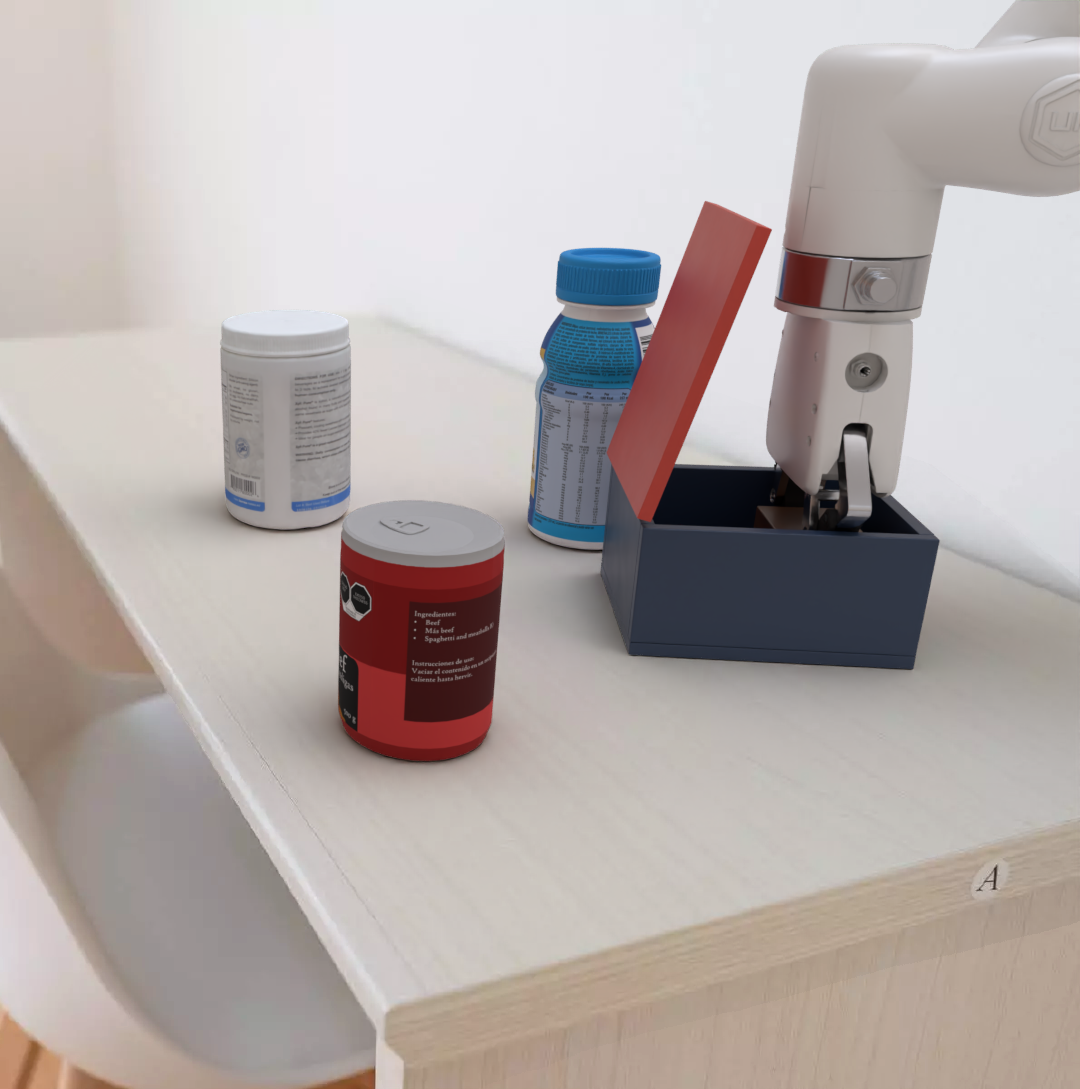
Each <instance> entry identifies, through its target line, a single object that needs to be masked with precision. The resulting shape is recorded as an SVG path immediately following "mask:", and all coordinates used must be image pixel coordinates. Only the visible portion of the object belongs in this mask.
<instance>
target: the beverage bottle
mask: <svg viewBox="0 0 1080 1089" xmlns="http://www.w3.org/2000/svg"><path fill="white" fill-rule="evenodd" d="M661 262H662V260H661V256H660V255H659V254H657V253H656V252H652V251H647V250H641V249H633V248H624V247H623V248H622V247H582V248H579V247H578V248H572V249H567V250H563V251H562V252H560V254H559V258H558V261H557V269H556V280H555V285H556V286H555V296H556V301H557V302H558V303H559V304H561V305H564V307H563V308H562V309H561V311H560V312H559V314H558V315H557V316H556V318H555V319H554V320H553V322H552V323H551V325H550V326H549V328H548V329H547V331H546V333H545V335H544V337H543V340H542V341H541V344H540V349H539V358H540V359H541V362H542V364H543V369H542V371H541V373H540V374H539V376H538V378H537V379H536V382H535V388H534V399H535V417H534V429H533V445H532V446H533V447H532V457H531V458H532V460H531V473H530V474H531V475H530V488H529V498H528V499H529V502H528V508H527V517H526V522H527V526H528V529H529V530H530V531H531V532H532V534H534V535H535V536H536V537H538V538H539V539H541V540H543V541H545V542H548V543H551V544H553V545H557V546H560V547H565V548H570V549H578V550H590V551H591V550H593V551H595V550H597V551H599V550H600V551H601V550H602V551H603V541H604V531H605V521H606V512H607V502H608V492H609V483H610V473H611V461H610V459H609V457H608V455H607V450H608V448H609V445H610V442H611V440H612V437H613V435H614V432H615V430H616V427H617V424H618V422H619V419H620V417H621V414H622V412H623V409H624V407H625V404H626V401H627V399H628V396H629V394H630V391H631V389H632V386H633V383H634V381H635V378H636V376H637V373H638V371H639V368H640V366H641V363H642V360H643V358H644V355H645V353H646V350H647V348H648V345H649V343H650V340H651V337H652V335H653V332H654V330H655V327H656V326H655V325H654V323H653V321H652V319H651V318H650V316H649V315H648V313H647V309H648V308H651V307H654V306H655V305H656V301H657V299H658V296H659V290H660V280H661V273H662V263H661Z"/></svg>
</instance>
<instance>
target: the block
mask: <svg viewBox="0 0 1080 1089" xmlns="http://www.w3.org/2000/svg"><path fill="white" fill-rule="evenodd" d="M826 509H832V508H819V519H820V517H821V516H822V515H823V513H824V512H825V511H826ZM802 521H803V507H776V506H757V508H756V515H755V522H754V528H762V529H788V530H802ZM859 532H862V530H861V529H859Z"/></svg>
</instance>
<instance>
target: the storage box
mask: <svg viewBox="0 0 1080 1089" xmlns="http://www.w3.org/2000/svg"><path fill="white" fill-rule="evenodd" d="M775 471H776V470H774V466H752V465H751V466H750V465H749V466H747V465H723V464H722V465H720V464H693V463H691V464H688V463H675V465H674V467H673V470H672V472H671V475H670V477H669V479H668V482H667V484H666V487H665V489H664V492H663V494H662V496H661V499H660V501H659V504H658V506H657V508H656V511H655V513H654V516H653V518H652V520H651V522H648V521H645V520H641V519H638V518H637V517H636V515H635V512H634V510H633V508H632V506H631V504H630V502H629V500H628V498H627V495H626V493H625V491H624V489H623V487H622V485H621V483H620V481H619V478H618V476H617V474H616V472H615V470H614V468H613V466H612V464H611V473H610V483H609V492H608V502H607V512H606V521H605V531H604V541H603V549H602V553H601V560H600V561H601V562H600V568H599V569H600V570H599V574H600V577H601V578H602V582H603V585H604V587H605V590H606V593H607V596H608V599H609V601H610V602H609V603H610V605H611V607H612V610H613V613H614V617H615V619H616V622H617V625H618V628H619V632H620V633H621V637H622V639H623V642H624V645H625V649H626V651H627V654H628V655H629V656H645V657H647V656H648V657H663V658H665V657H668V658H683V659H685V658H686V659H688V658H689V659H703V660H704V659H705V660H724V661H745V662H763V663H764V662H765V663H783V664H784V663H785V664H786V663H787V664H801V665H802V664H803V665H804V664H805V665H822V666H823V665H824V666H842V667H843V666H844V667H860V668H861V667H864V668H882V669H883V668H884V669H900V670H902V669H903V670H913V669H914V668H915V663H916V662H915V661H916V658H917V657H916V656H917V653H918V652H917V651H918V648H919V642H920V637H921V633H922V628H923V623H924V618H925V613H926V608H927V604H928V599H929V594H930V589H931V584H932V579H933V575H934V570H935V566H936V560H937V556H938V551H939V546H940V541H941V540H940V539H939V538H938V537H937V536H936V535H935V533H933V532H932V531H931V530H930V529H929V528H928V527H927V526H926V525H924V524H923V523H922V522H921V520H919V519H918V518H917V517H916V516H915V515H913V513H911V512H910V511H909V510H908V509H907V508H906V507H905V506H904V505H902V504H901V503H900V502H899V501H898V500H897V499H896V498H895V497H894V496H893V495H892V494H891V495H890V496H888V497H886V498H880V497H877V496H875V495H874V494H873V493H872V492H871V501H872V512H871V515H870V517H869V518H868V519H867V520H866V521H865V522H864V523H863V525H862V526H861V527H860V529H861V530H862V532H840V531H814V530H788V529H762V528H754V522H755V515H756V508H757V506H776V507H779V505H771V503H770V490H771V486H772V482H773V478H774V475H775ZM824 490H839V481H838V480H827V481H826V484H825V488H824ZM837 502H838V501H821V502H820V508H832V509H834V508H835V504H836V503H837Z"/></svg>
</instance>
